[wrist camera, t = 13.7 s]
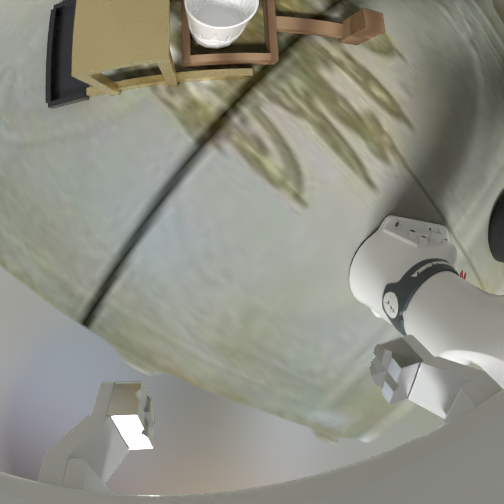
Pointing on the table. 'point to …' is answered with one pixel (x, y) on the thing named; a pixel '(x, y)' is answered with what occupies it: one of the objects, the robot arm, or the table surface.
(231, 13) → the white cup
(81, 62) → the tunnel
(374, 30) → the wooden frame with handle
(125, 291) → the table surface
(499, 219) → the candelabra
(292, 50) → the table surface
